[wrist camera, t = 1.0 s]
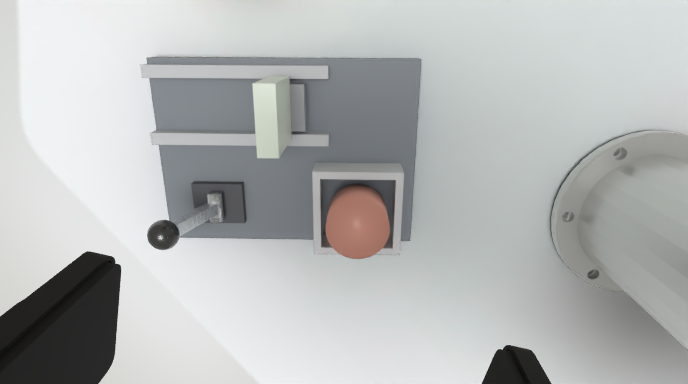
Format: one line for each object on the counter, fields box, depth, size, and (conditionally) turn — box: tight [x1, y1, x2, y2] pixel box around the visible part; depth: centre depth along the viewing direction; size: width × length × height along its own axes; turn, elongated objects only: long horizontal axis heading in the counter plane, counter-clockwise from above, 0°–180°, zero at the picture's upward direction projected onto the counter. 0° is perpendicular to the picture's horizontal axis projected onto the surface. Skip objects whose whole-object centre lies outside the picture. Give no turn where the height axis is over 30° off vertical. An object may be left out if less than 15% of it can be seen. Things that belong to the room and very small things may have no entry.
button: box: [326, 184, 390, 259], centre depth 28 cm, size 4×4×3 cm
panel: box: [140, 57, 421, 255], centre depth 30 cm, size 18×13×4 cm
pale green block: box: [252, 76, 307, 158], centre depth 26 cm, size 3×4×6 cm
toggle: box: [147, 191, 224, 250], centre depth 28 cm, size 2×2×6 cm
